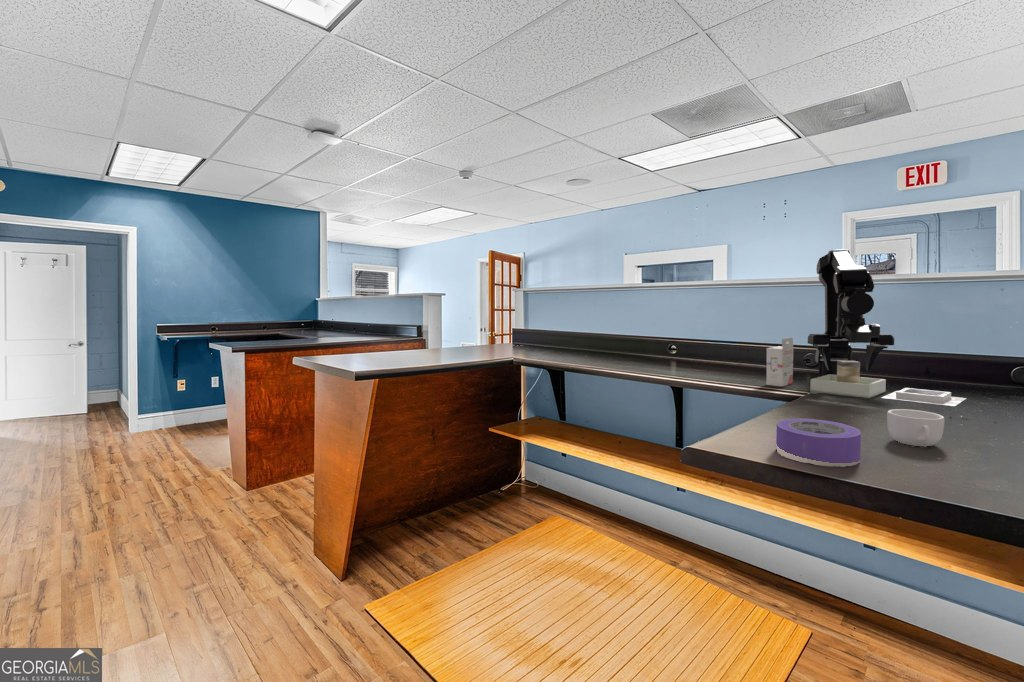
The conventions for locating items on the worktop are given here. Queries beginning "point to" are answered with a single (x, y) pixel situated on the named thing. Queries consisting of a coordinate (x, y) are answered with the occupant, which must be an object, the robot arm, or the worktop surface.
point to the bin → (848, 386)
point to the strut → (848, 371)
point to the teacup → (915, 427)
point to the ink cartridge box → (780, 364)
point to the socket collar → (925, 396)
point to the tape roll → (819, 440)
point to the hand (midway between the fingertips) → (848, 370)
